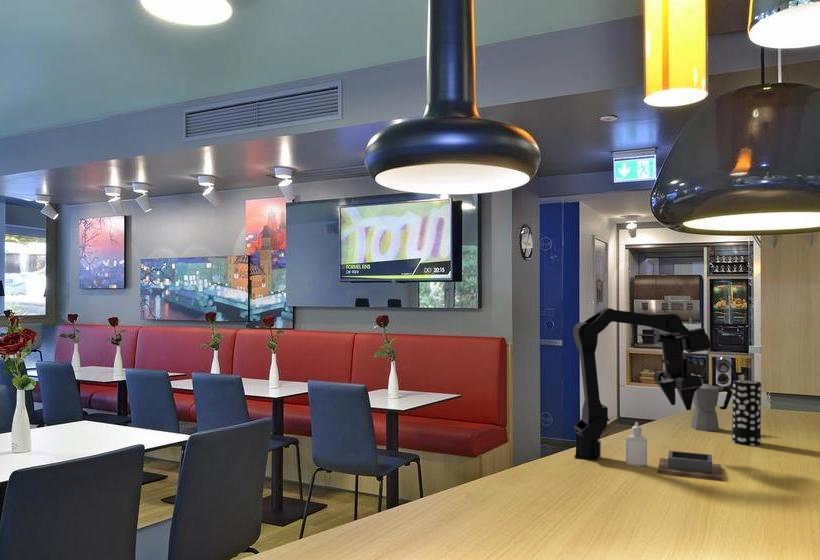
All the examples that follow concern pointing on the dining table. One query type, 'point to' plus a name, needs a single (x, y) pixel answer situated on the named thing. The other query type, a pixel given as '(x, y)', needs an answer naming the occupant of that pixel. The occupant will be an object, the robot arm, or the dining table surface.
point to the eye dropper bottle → (636, 448)
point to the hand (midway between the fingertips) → (680, 407)
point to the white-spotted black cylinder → (746, 412)
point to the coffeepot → (708, 406)
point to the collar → (690, 461)
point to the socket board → (714, 475)
